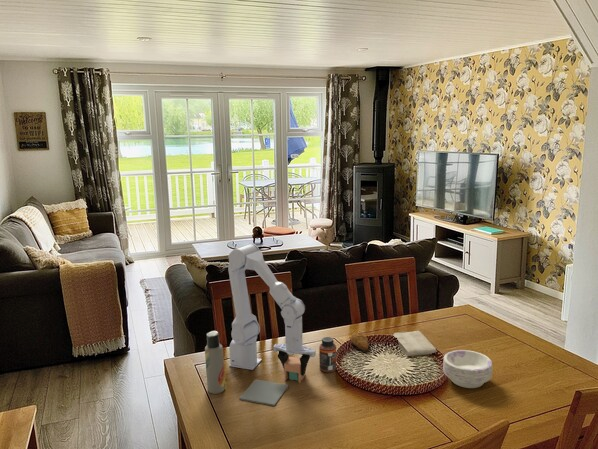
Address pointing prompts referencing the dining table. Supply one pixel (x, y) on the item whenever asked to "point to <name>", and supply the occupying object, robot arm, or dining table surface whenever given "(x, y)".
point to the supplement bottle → (327, 355)
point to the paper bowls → (467, 368)
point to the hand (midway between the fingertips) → (295, 372)
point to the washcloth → (414, 343)
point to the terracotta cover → (293, 368)
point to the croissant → (360, 341)
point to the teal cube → (293, 376)
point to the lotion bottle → (214, 363)
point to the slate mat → (264, 392)
